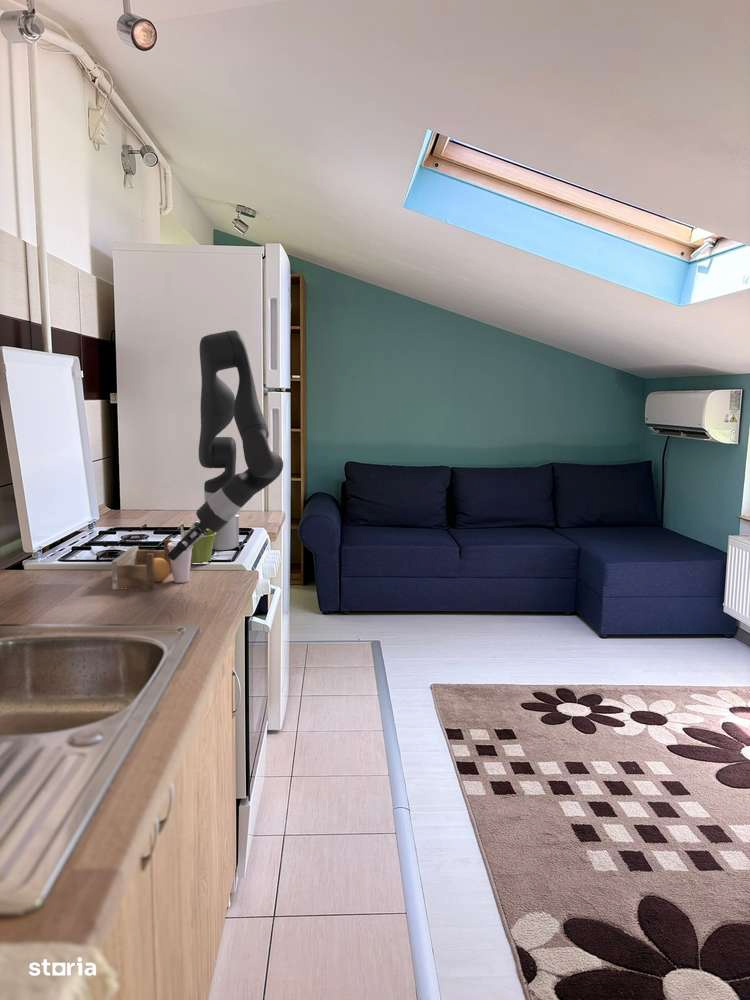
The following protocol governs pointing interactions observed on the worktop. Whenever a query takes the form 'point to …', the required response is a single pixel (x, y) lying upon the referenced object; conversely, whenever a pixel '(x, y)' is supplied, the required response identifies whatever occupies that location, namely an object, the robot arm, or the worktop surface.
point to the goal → (137, 568)
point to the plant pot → (203, 548)
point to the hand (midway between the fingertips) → (174, 554)
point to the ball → (161, 569)
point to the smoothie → (181, 562)
